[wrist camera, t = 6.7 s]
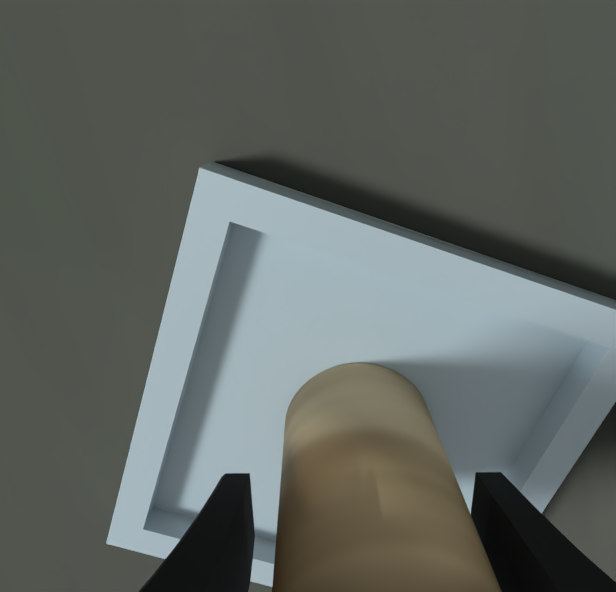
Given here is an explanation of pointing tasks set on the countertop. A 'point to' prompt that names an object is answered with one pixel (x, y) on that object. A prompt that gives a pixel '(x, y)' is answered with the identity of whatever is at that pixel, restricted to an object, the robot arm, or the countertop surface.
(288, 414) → the oak plug
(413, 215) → the countertop surface
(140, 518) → the blue-grey tray
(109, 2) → the countertop surface
